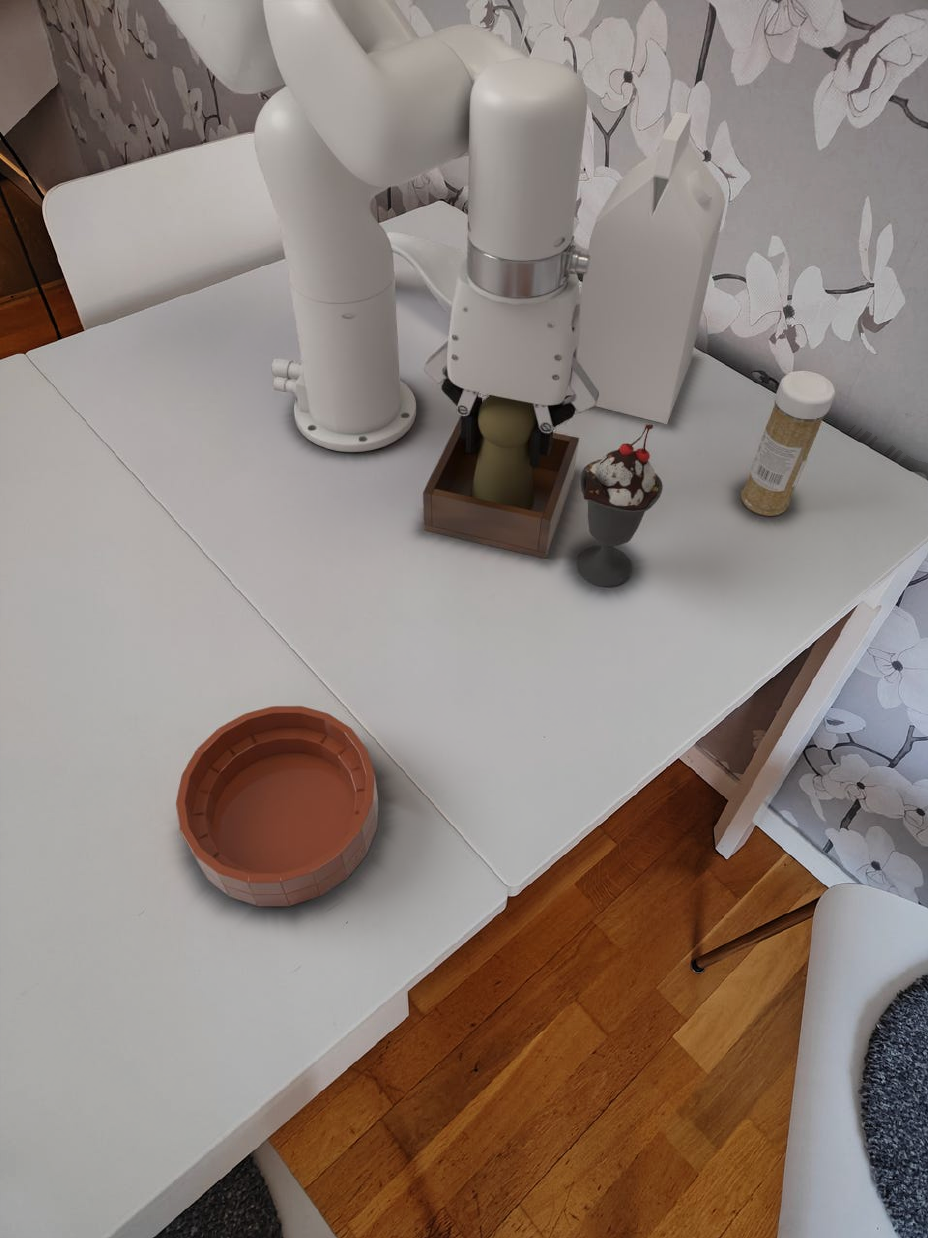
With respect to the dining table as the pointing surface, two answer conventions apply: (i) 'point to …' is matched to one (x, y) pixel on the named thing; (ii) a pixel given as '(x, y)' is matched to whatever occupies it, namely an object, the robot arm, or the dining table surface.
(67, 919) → the dining table surface
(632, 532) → the sundae
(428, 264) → the spoon rest
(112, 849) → the dining table surface
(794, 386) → the sprinkles bottle
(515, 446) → the olive brown knobbed cylinder
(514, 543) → the holder
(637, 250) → the milk
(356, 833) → the bowl
